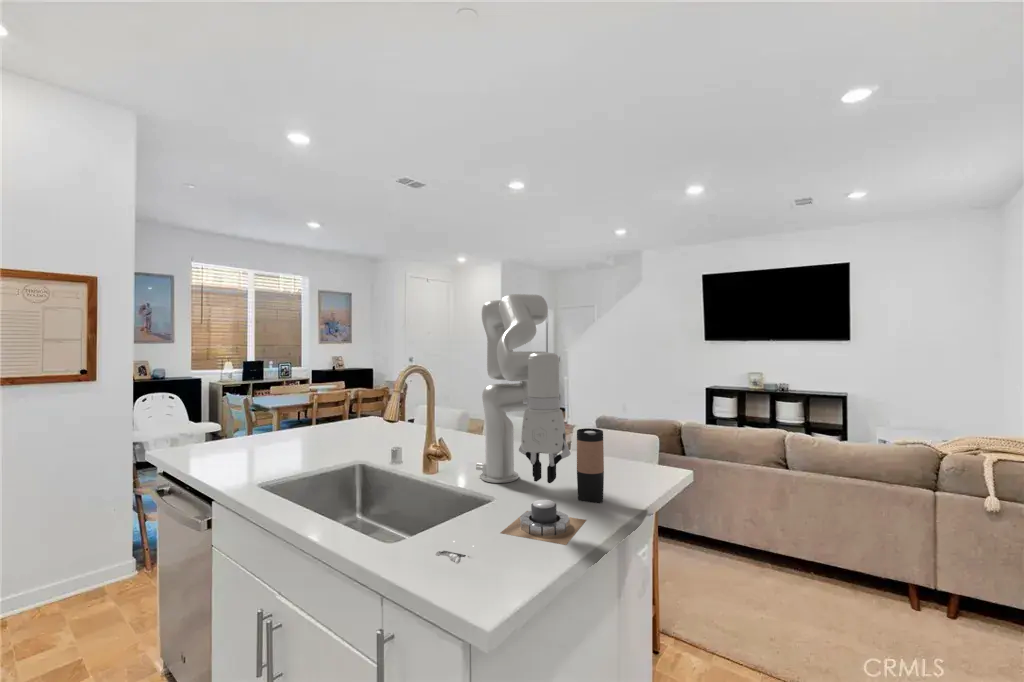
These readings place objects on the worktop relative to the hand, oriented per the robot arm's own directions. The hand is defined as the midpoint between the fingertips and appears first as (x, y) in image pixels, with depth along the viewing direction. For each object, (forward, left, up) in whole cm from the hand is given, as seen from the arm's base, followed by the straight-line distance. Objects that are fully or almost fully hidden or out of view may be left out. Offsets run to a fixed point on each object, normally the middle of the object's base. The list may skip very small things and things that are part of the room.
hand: (544, 480), depth 113 cm
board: (0, 0, -12) cm, 12 cm away
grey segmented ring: (0, 0, -11) cm, 11 cm away
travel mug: (+4, +26, -12) cm, 29 cm away
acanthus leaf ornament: (-13, -19, -13) cm, 26 cm away
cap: (0, 0, -11) cm, 11 cm away
